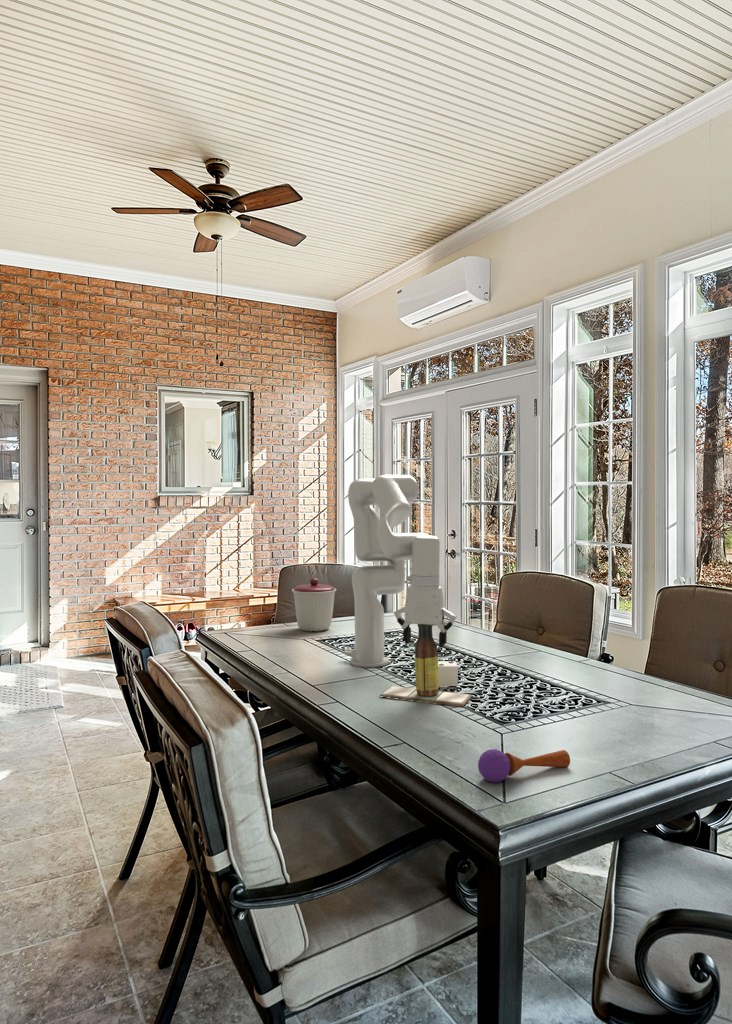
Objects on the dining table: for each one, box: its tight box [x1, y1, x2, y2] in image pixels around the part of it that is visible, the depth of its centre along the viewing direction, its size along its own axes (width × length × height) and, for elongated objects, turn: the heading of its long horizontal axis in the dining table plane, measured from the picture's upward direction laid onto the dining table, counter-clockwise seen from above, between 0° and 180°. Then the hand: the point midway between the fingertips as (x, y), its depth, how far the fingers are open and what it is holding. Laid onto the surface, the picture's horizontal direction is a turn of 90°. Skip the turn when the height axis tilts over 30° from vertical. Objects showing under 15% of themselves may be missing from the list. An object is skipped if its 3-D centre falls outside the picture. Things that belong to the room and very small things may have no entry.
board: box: [379, 685, 473, 708], centre depth 186 cm, size 23×9×1 cm, turn 68°
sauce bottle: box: [414, 624, 440, 696], centre depth 186 cm, size 6×6×20 cm
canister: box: [291, 577, 337, 632], centre depth 282 cm, size 18×18×21 cm
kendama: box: [477, 748, 571, 783], centre depth 135 cm, size 6×6×20 cm
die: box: [438, 660, 459, 688], centre depth 200 cm, size 6×6×6 cm
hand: (424, 644), depth 187 cm, fingers open, 9 cm apart
